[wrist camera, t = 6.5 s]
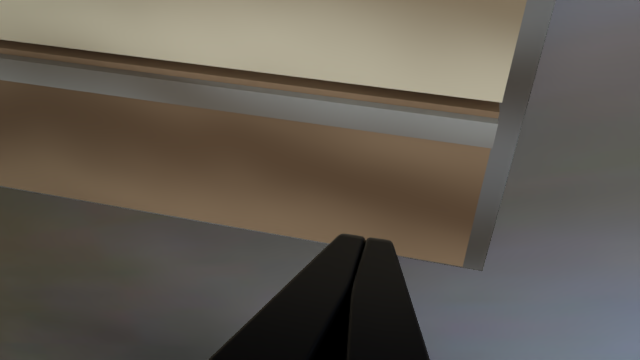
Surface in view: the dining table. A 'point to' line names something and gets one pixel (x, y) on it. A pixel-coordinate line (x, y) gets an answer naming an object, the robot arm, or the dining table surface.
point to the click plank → (295, 37)
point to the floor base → (267, 146)
